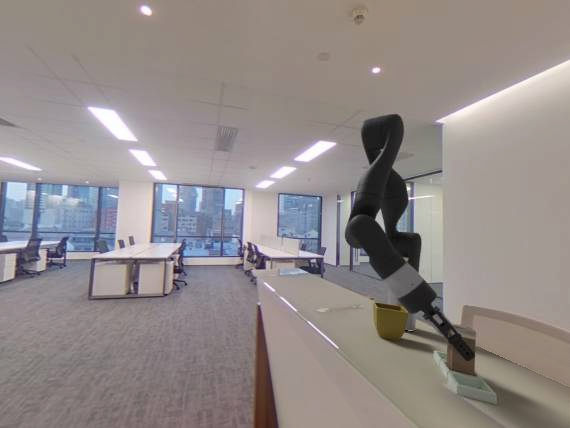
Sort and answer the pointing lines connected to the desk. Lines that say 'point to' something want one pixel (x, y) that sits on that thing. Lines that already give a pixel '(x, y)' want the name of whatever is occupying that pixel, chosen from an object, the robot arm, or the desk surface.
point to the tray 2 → (446, 370)
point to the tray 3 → (472, 388)
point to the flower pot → (390, 320)
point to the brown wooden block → (454, 357)
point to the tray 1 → (440, 356)
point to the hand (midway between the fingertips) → (464, 351)
